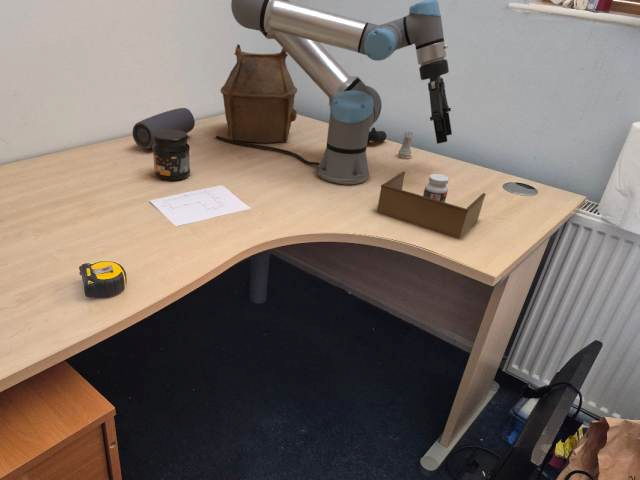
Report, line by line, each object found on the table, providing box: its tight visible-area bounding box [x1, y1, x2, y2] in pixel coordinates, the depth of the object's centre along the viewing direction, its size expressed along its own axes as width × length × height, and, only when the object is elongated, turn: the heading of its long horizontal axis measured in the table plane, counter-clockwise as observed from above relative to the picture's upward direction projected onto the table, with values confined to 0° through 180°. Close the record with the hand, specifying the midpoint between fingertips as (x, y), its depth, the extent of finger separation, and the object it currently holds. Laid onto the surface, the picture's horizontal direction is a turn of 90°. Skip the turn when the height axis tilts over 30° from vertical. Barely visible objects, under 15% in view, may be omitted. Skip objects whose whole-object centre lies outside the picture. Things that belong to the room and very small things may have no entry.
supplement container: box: [151, 130, 191, 182], centre depth 149 cm, size 10×10×12 cm
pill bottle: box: [422, 173, 449, 203], centre depth 134 cm, size 6×6×10 cm
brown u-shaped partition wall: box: [376, 171, 486, 239], centre depth 133 cm, size 13×22×8 cm, turn 52°
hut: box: [220, 43, 298, 144], centre depth 179 cm, size 23×27×30 cm
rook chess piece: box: [397, 131, 414, 160], centre depth 171 cm, size 4×4×8 cm
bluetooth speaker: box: [132, 107, 196, 149], centre depth 173 cm, size 23×9×10 cm, turn 150°
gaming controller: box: [367, 127, 387, 144], centre depth 184 cm, size 17×6×10 cm
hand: (444, 139), depth 150 cm, fingers open, 13 cm apart
